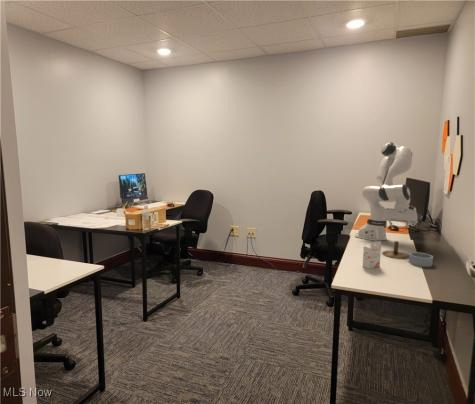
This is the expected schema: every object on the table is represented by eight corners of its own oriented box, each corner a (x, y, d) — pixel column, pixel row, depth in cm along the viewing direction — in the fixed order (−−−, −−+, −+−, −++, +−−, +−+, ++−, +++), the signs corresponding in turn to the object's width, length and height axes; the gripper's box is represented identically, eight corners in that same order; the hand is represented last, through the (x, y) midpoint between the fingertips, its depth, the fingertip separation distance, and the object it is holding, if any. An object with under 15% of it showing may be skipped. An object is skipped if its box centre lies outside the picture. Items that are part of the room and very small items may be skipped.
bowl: (408, 264, 196) (409, 256, 195) (409, 259, 206) (410, 251, 205) (432, 268, 190) (433, 259, 189) (432, 262, 200) (432, 254, 199)
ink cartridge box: (372, 264, 194) (374, 239, 192) (379, 266, 190) (382, 241, 188) (361, 266, 190) (363, 240, 188) (368, 269, 186) (371, 242, 184)
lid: (380, 256, 210) (382, 242, 209) (383, 250, 223) (384, 237, 222) (407, 260, 203) (409, 246, 202) (409, 254, 216) (410, 240, 215)
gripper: (384, 205, 230) (381, 221, 223) (418, 208, 220) (416, 225, 213) (384, 210, 235) (381, 227, 228) (418, 214, 225) (416, 231, 218)
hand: (398, 226), depth 220 cm, fingers open, 8 cm apart
